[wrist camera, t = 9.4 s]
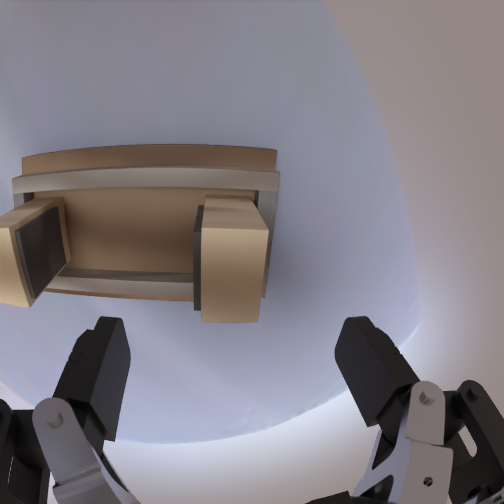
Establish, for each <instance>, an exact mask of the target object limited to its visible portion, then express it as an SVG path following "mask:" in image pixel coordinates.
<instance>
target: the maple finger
mask: <svg viewBox="0 0 504 504" xmlns="http://www.w3.org/2000/svg"><path fill="white" fill-rule="evenodd" d="M268 233H269V230H268V228H267V226H266V224H265V222H264V221H263V219H262V217H261V215H260V214H259V212H258V210H257V208H256V207H255V205H254V203H253V201H252V200H251V198H250V196H237V195H213V194H206V197H205V204H204V205H199V206H198V211H197V216H196V221H195V226H194V231H193V292H194V310H198V311H201V322H258V315H259V308H260V300H261V292H262V284H263V275H264V267H265V259H266V250H267V242H268Z"/></svg>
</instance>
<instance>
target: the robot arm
mask: <svg viewBox="0 0 504 504" xmlns="http://www.w3.org/2000/svg"><path fill="white" fill-rule="evenodd" d="M394 345H395V344H394V343H393V342H392V340H391V339H390V337H389V336H388V335H387V334H386V333H384V332H383V331H382V330H380V329H379V328H375V326H374V325H373V323H372V322H371V321H370V319H369V318H368V317H367V316H359V317H348V318H347V319H346V320H345V322H344V324H343V327H342V330H341V333H340V336H339V338H338V341H337V344H336V347H335V360H336V363H337V365H338V367H339V369H340V371H341V373H342V375H343V377H344V379H345V381H346V383H347V385H348V387H349V390H350V392H351V394H352V396H353V398H354V400H355V402H356V404H357V406H358V408H359V410H360V412H361V414H362V417H363V419H364V421H365V423H366V425H367V427H371V426H374V425H377V424H379V426H380V427H381V429H380V430H379V431H378V434H377V437H376V440H375V444H374V447H373V451H372V454H371V457H370V460H369V463H368V466H367V469H366V472H365V474H364V476H363V477H362V479H361V480H360V481H359V483H358V484H357V486H356V488H355V489H354V492H353V494H352V496H350V495H349V492H348V491H345V492H342V493H338V494H335V495H331V496H327V497H324V498H320V499H316V500H312V501H310V502H308V503H306V504H446V502H447V497H448V494H449V497H450V499H451V502H452V504H504V419H503V417H502V415H501V414H500V412H499V411H498V409H497V408H496V406H495V404H494V403H493V402H492V400H491V399H490V397H489V395H488V394H487V393H486V391H485V390H484V388H483V387H482V386H481V385H480V384H479V383H477V382H475V381H472V380H467V381H464V382H463V383H462V384H461V385H460V387H459V388H458V389H457V391H442V390H441V389H440V388H439V387H438V386H437V385H436V384H434V383H432V382H429V381H420V380H419V378H418V377H417V375H416V374H415V373H414V371H413V370H412V368H411V367H410V365H409V364H408V363H407V361H406V360H405V358H404V357H403V355H402V354H400V351H399V350H398V348H397V347H396V346H394ZM72 350H73V351H72V352H71V354H70V356H69V358H68V361H67V363H66V365H65V367H64V370H63V372H62V374H61V377H60V379H59V382H58V384H57V387H56V389H55V392H54V394H53V396H52V398H47V399H44V400H42V401H41V402H40V403H39V404H37V406H36V407H35V409H34V410H12V409H11V408H10V407H9V405H8V404H7V403H6V402H5V401H4V400H2V399H0V504H47V497H48V487H49V478H50V471H51V472H52V475H53V477H54V480H55V485H54V486H53V493H54V496H55V498H56V500H57V502H58V504H141V503H140V502H139V501H138V500H137V499H136V498H135V497H134V495H133V494H132V493H131V492H130V490H129V489H128V488H127V486H126V485H125V484H124V482H123V481H122V479H121V478H120V476H119V475H118V473H117V472H116V470H115V469H114V467H113V466H112V464H111V462H110V461H109V459H108V457H107V456H106V454H105V453H104V451H103V444H104V440H109V441H114V442H115V438H116V432H117V426H118V420H119V415H120V409H121V404H122V399H123V395H124V390H125V385H126V381H127V376H128V372H129V368H130V361H131V356H130V348H129V344H128V341H127V337H126V332H125V328H124V324H123V321H122V319H121V318H116V317H104V316H101V317H100V318H99V319H98V321H97V323H96V326H95V328H94V330H88V329H87V330H86V331H85V332H84V333H83V334H82V335H81V336H80V337H79V338H78V339H77V341H76V343H75V345H74V347H73V349H72ZM465 425H466V427H467V428H468V431H469V432H470V434H471V436H472V438H473V440H474V441H475V443H476V445H477V453H476V455H475V456H474V457H472V456H470V454H469V452H468V450H467V449H466V446H465V445H464V443H463V441H462V439H461V437H460V435H459V433H458V432H459V431H460V430H461V429H462V428H463V427H464V426H465ZM12 457H13V460H12ZM11 462H12V465H11ZM10 467H11V470H10ZM9 473H10V475H9ZM8 479H9V482H8Z"/></svg>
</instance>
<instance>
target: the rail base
mask: <svg viewBox="0 0 504 504" xmlns="http://www.w3.org/2000/svg"><path fill="white" fill-rule="evenodd" d="M276 155H277V150H274V149H265V148H254V147H241V146H225V145H200V144H145V145H121V146H106V147H94V148H83V149H74V150H65V151H58V152H51V153H44V154H38V155H32V156H27V157H23V158H22V175H21V176H18V177H15V178H12V187H13V198H14V206H15V209H13V210H11V211H9V212H7V213H6V214H4V215H2V216H0V302H1V303H5V304H10V305H15V306H21V307H27V308H30V307H31V306H32V304H33V303H34V302H35V301H36V299H37V298H38V297H39V296H40V295H41V293H42V292H43V291H46V292H55V293H65V294H75V295H87V296H99V297H112V298H128V299H145V300H167V301H194V292H193V231H194V226H195V221H196V216H197V211H198V206H199V205H204V204H205V197H206V194H213V195H237V196H250V198H251V200H252V201H253V203H254V205H255V207H256V208H257V210H258V212H259V214H260V215H261V217H262V219H263V221H264V222H265V224H266V226H267V228H268V230H269V233H268V242H267V250H266V259H265V267H264V275H263V284H262V292H261V298H265V292H266V284H267V276H268V269H269V261H270V253H271V245H272V237H273V228H274V220H275V212H276V203H277V195H278V186H279V177H280V173H279V172H277V171H275V164H276Z"/></svg>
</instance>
